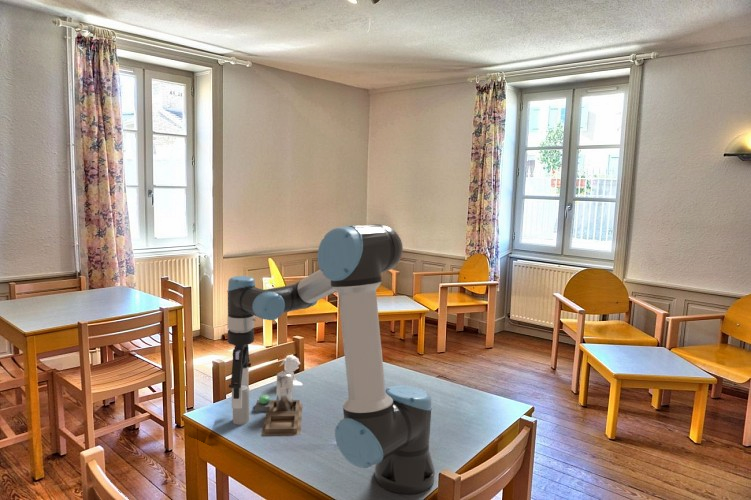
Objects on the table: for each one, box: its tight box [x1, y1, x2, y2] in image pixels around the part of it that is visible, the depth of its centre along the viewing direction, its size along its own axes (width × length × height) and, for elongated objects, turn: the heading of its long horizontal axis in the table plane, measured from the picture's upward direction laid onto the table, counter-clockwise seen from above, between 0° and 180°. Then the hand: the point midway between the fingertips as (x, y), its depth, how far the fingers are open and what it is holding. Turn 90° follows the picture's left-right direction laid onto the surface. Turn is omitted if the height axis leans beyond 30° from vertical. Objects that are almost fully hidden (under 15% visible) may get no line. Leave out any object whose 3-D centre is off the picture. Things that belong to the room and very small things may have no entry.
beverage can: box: [232, 384, 250, 425], centre depth 152 cm, size 5×5×12 cm
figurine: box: [279, 355, 303, 386], centre depth 180 cm, size 9×9×12 cm
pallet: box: [254, 399, 303, 436], centre depth 155 cm, size 20×14×3 cm
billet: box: [276, 370, 294, 412], centre depth 159 cm, size 5×5×12 cm
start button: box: [258, 394, 271, 404], centre depth 161 cm, size 3×3×2 cm
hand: (240, 397), depth 152 cm, fingers open, 13 cm apart
